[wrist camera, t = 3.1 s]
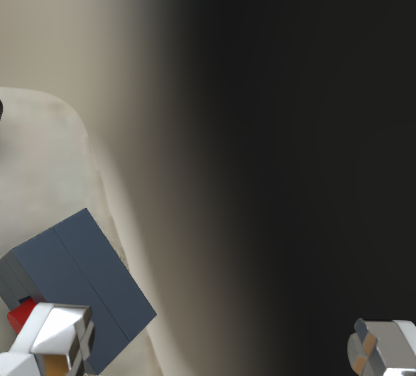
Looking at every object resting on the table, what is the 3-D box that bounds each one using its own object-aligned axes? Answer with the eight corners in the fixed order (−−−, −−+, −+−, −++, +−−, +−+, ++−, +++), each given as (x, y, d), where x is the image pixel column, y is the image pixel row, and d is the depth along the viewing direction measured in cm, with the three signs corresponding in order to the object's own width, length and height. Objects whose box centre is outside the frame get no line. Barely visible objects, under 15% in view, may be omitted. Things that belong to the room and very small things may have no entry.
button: (26, 347, 30) (37, 348, 27) (3, 314, 29) (12, 312, 27) (59, 321, 32) (72, 319, 29) (37, 290, 32) (49, 286, 29)
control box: (51, 368, 35) (98, 375, 26) (-16, 273, 34) (10, 249, 25) (103, 320, 40) (157, 314, 31) (46, 237, 39) (86, 207, 30)
